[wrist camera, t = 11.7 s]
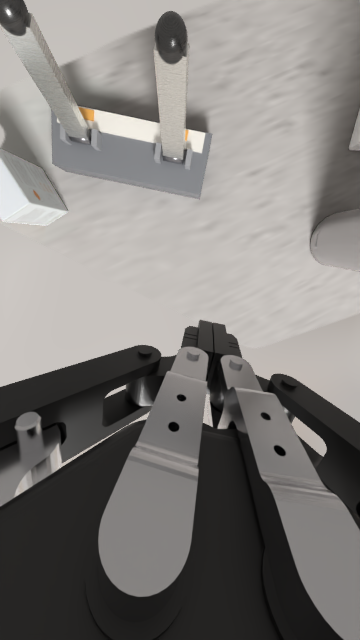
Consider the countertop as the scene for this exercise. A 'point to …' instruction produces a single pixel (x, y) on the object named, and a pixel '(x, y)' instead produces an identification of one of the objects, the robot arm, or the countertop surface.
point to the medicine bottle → (356, 135)
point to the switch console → (131, 153)
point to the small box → (27, 193)
